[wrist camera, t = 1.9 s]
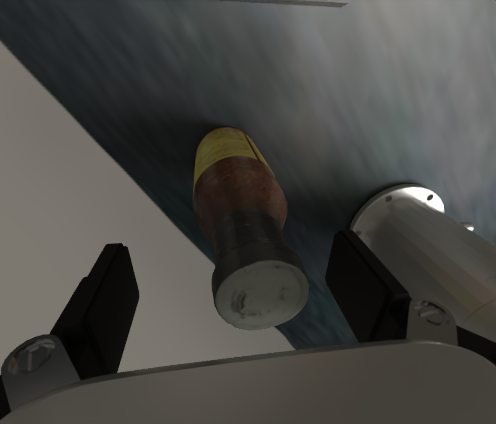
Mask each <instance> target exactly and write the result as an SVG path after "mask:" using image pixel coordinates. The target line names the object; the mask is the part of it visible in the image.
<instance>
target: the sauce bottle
mask: <svg viewBox="0 0 496 424" xmlns="http://www.w3.org/2000/svg"><path fill="white" fill-rule="evenodd" d="M193 211H194V216H195V219H196V222H197V224H198V225H199V227H200V229H201V230H202V232H203V233H204V234H205V236H206V237H207V239H208V240H209V242H210V243H211V245H212V246H213V250H214V252H215V270H214V272H213V276H212V292H213V298H214V304H215V307H216V309H217V312H218V313H219V315H220V316H221V317H222V318H223V319H224V320H225V321H226V322H227V323H229V324H231V325H233V326H234V327H236V328H239V329H245V330H259V329H267V328H270V327H273V326H276V325H279V324H281V323H284V322H286V321H288V320H290V319H291V318H293V317H294V316H295V315H297V314H298V313H299V311H300V310H301V309H302V308H303V307H304V305H305V304H306V302H307V299H308V296H309V292H310V282H309V280H308V277H307V274H306V272H305V270H304V267H303V265H302V263H301V261H300V259H299V257H298V256H297V254H295V253H294V251H293V250H291V249H290V248H289V247H288V245H287V242H286V240H285V237H284V233H283V231H282V229H283V226H284V223H285V220H286V217H287V201H286V199H285V196H284V193H283V191H282V189H281V187H280V186H279V184H278V183H277V180H276V177H275V175H274V173H273V172H272V170H271V169H270V167H269V166H268V164H267V163H266V161H265V160H264V158H263V157H262V155H261V153H260V152H259V150H258V149H257V147H256V146H255V144H254V143H253V141H252V140H251V139H250V138H249V136H247V135H246V134H244V133H243V132H242V131H241V130H239V129H236V128H233V127H220V128H216V129H213V130H212V131H210V132H209V133H208V134H207V135H206V136H205V137H204V138H203V139H202V140H201V142H200V143H199V146H198V149H197V152H196V160H195V175H194V188H193Z"/></svg>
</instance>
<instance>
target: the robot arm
mask: <svg viewBox="0 0 496 424" xmlns="http://www.w3.org/2000/svg"><path fill="white" fill-rule="evenodd" d="M444 212H445V211H444V205H443V202H442V200H441V198H440V197H439V196H438V195H437V194H436V193H435V192H433V191H432V190H430V189H428V188H426V187H424V186H422V185H417V184H402V185H397V186H393V187H391V188H388V189H385V190H383V191H382V192H380V193H378V194H376V195H375V196H374V197H372V198H371V199H370V200H368V201H367V202H366V203H365V204H364V205H363V206H362V207H361V208H360V210H359V211H358V212H357V214H356V215H355V217H354V219H353V221H352V223H351V225H350V228H349V230H340V231H339V232H338V234H335V236H334V240H333V244H332V249H331V253H330V258H329V262H328V267H327V271H326V276H325V280H326V284H327V286H328V287H329V289H330V291H331V293H332V295H333V296H334V298H335V300H336V302H337V304H338V306H339V307H340V309H341V311H342V313H343V315H344V316H345V318H346V320H347V322H348V324H349V326H350V327H351V329H352V331H353V333H354V335H355V336H356V338H357V340H358V342H359V343H354V344H346V345H337V346H328V347H319V348H310V349H302V350H294V351H285V352H277V353H268V354H260V355H251V356H243V357H235V358H226V359H218V360H210V361H202V362H194V363H186V364H178V365H170V366H163V367H155V368H148V369H141V370H135V371H127V372H120V373H117V371H118V368H119V365H120V361H121V358H122V354H123V351H124V347H125V344H126V341H127V337H128V334H129V331H130V327H131V324H132V321H133V317H134V314H135V311H136V307H137V304H138V301H139V290H138V286H137V282H136V278H135V274H134V271H133V266H132V262H131V258H130V254H129V250H128V247H126V246H123V244H122V243H118V244H117V243H116V244H106V246H105V247H104V249H103V251H102V252H101V254H100V256H99V258H98V259H97V261H96V263H95V264H94V266H93V268H92V270H91V272H90V273H89V275H88V277H84V278H83V279H82V280H81V282H80V283H79V285H78V287H77V289H76V290H75V292H74V294H73V295H72V297H71V298H70V300H69V302H68V304H67V305H66V307H65V309H64V310H63V312H62V314H61V315H60V317H59V319H58V320H57V322H56V324H55V326H54V327H53V329H52V330H51V332H50V334H47V335H41V336H37V337H34V338H32V339H29V340H27V341H25V342H24V343H22V344H21V345H19V346H18V347H17V348H16V349H14V350H13V351H12V352H11V353H10V354H9V356H8V357H7V358H6V359H5V361H4V363H3V365H2V368H1V375H0V424H496V246H495V245H493V244H492V243H490V242H489V241H487V240H485V239H484V238H482V237H481V236H479V235H477V234H476V233H474V232H472V230H473V225H472V224H471V223H470V222H456V221H455V220H453V219H452V218H450V217H448V216H447V215H445V214H444Z"/></svg>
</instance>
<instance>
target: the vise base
mask: <svg viewBox="0 0 496 424" xmlns="http://www.w3.org/2000/svg"><path fill="white" fill-rule="evenodd" d="M221 1H239V2H257V3H275V4H293V5H310V6H328V7H342V6H344V5H346V4H348V3H349V0H221Z"/></svg>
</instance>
